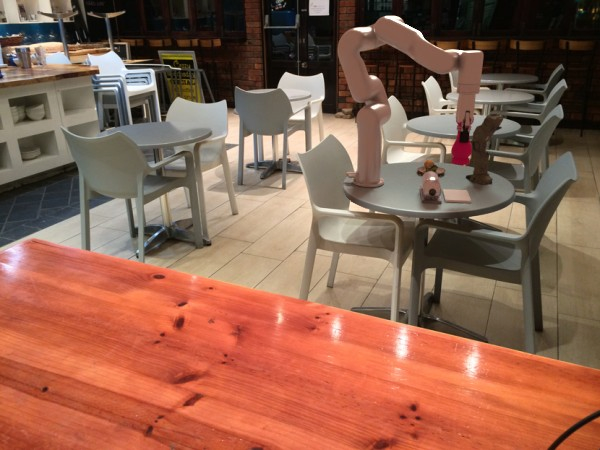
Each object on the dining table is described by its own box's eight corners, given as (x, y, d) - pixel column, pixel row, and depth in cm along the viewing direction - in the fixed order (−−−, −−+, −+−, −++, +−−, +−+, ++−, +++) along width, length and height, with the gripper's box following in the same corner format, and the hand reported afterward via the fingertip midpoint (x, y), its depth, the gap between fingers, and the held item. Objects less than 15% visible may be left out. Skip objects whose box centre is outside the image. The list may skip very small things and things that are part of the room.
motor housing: (421, 202, 179) (423, 183, 176) (419, 188, 194) (421, 170, 191) (441, 203, 178) (443, 184, 175) (438, 189, 193) (439, 171, 190)
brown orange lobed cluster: (445, 178, 206) (447, 161, 203) (416, 176, 209) (418, 159, 206) (444, 170, 217) (446, 153, 214) (417, 168, 220) (418, 152, 217)
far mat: (445, 201, 180) (445, 199, 179) (442, 191, 191) (442, 189, 190) (470, 202, 178) (471, 200, 178) (466, 192, 189) (467, 190, 189)
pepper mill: (445, 161, 181) (451, 106, 173) (462, 159, 183) (468, 105, 176) (458, 166, 175) (464, 109, 167) (475, 164, 177) (481, 108, 169)
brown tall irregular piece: (457, 173, 208) (477, 109, 191) (470, 171, 210) (490, 107, 193) (478, 189, 198) (501, 123, 181) (491, 187, 201) (515, 121, 184)
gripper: (454, 85, 177) (449, 135, 184) (459, 92, 162) (454, 146, 169) (476, 85, 176) (470, 135, 183) (483, 92, 161) (477, 146, 168)
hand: (462, 140), depth 176 cm, fingers closed on pepper mill, 5 cm apart
